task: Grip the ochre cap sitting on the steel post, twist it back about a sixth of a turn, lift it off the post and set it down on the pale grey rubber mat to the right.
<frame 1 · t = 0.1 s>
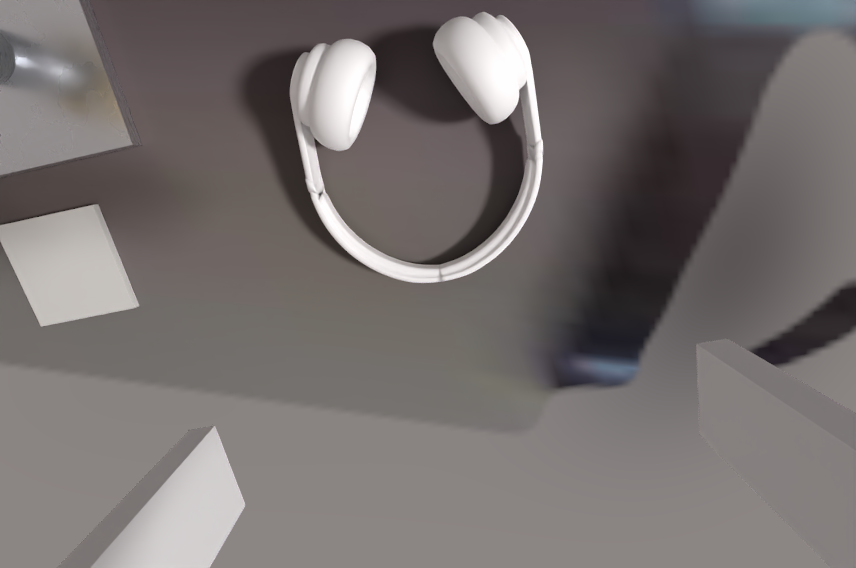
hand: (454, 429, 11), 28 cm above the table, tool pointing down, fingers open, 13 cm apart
post fixture: (3, 58, 35), on the table
headphones: (424, 169, 37), on the table
mat: (71, 266, 40), on the table
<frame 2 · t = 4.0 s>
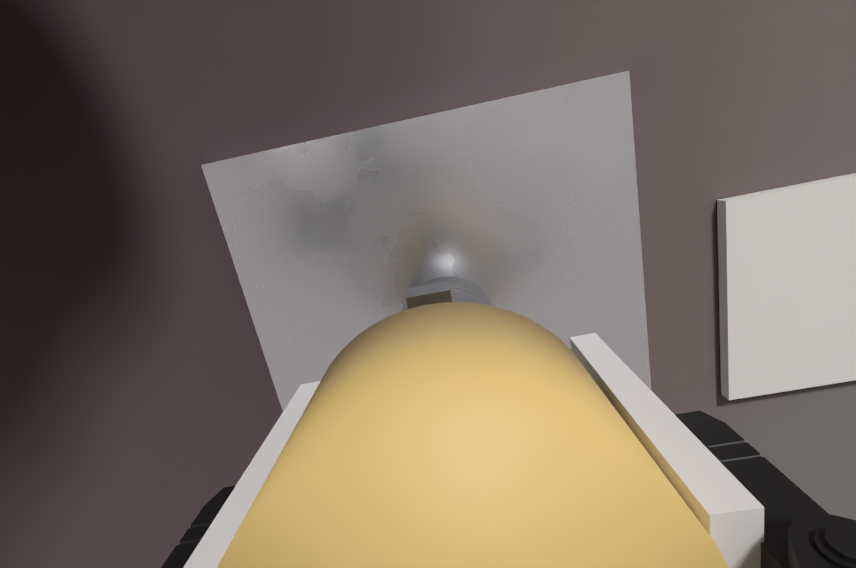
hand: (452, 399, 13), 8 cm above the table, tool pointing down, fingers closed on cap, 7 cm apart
post fixture: (446, 313, 20), on the table
cap: (454, 440, 11), point 10 cm above the table, touching gripper, post fixture
mat: (828, 284, 20), on the table
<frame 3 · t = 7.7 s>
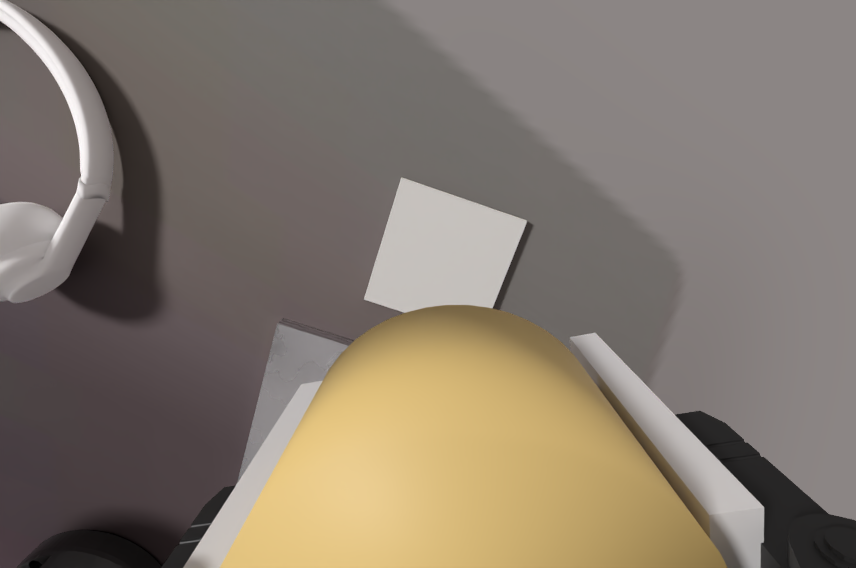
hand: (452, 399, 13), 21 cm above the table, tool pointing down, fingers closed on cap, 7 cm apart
post fixture: (356, 437, 37), on the table
cap: (455, 443, 11), point 23 cm above the table, touching gripper
headphones: (0, 140, 32), on the table
mat: (443, 259, 33), on the table
when the fingers open (1 cm above the table, at t = 11.7 s): cap drops 3 cm, resting on mat.
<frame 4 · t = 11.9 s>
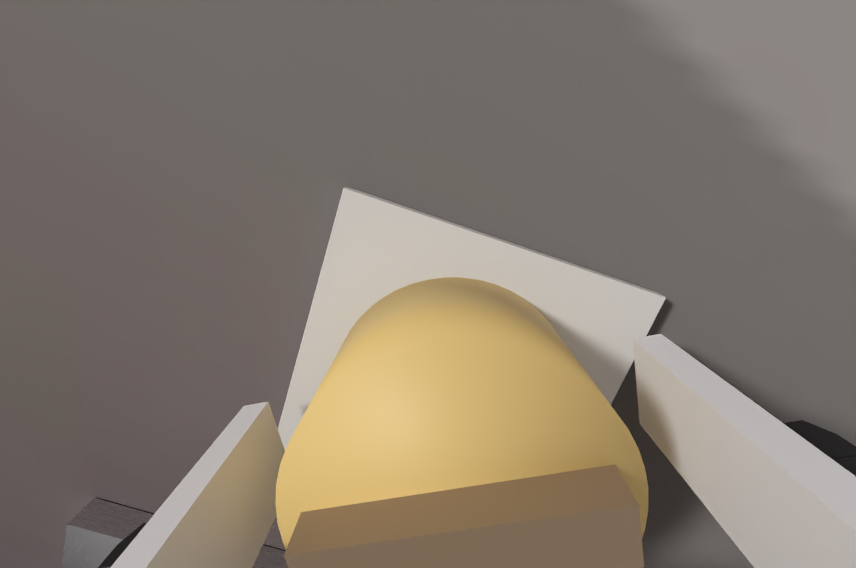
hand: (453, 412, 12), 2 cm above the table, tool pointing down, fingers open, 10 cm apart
cap: (451, 391, 13), point 1 cm above the table, touching mat
mat: (451, 380, 14), on the table
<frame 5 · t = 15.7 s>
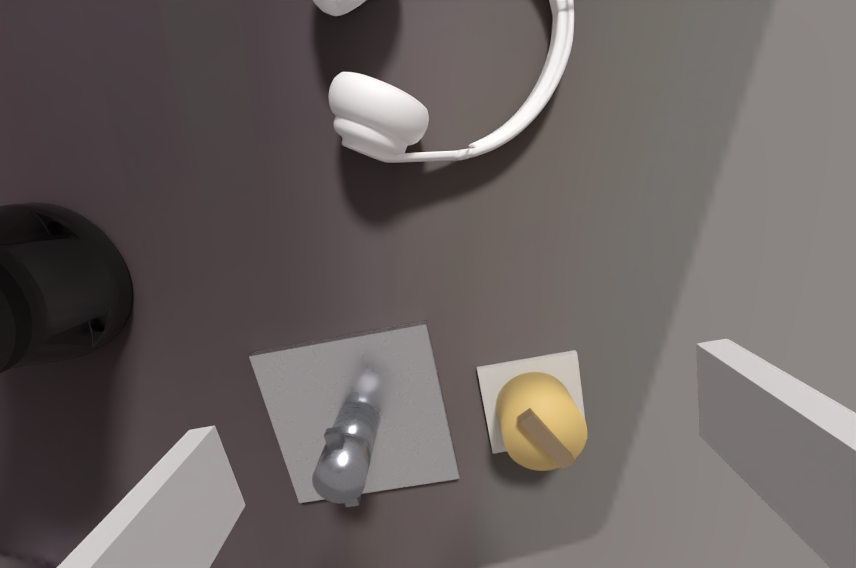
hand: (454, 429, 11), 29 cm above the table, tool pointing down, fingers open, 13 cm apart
post fixture: (360, 413, 44), on the table
cap: (532, 405, 42), point 1 cm above the table, touching mat
headphones: (446, 40, 35), on the table
mat: (532, 402, 43), on the table
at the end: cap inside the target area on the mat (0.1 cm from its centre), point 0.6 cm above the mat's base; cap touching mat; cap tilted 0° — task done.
